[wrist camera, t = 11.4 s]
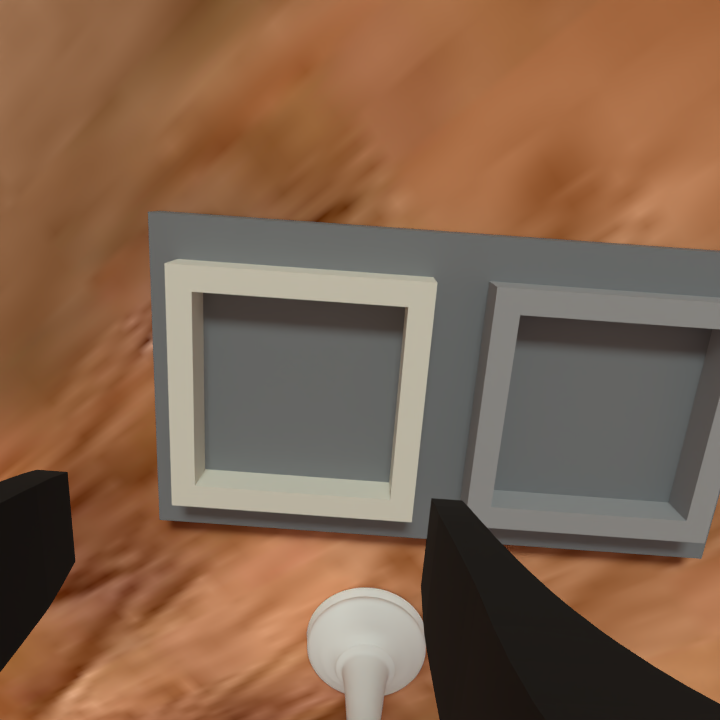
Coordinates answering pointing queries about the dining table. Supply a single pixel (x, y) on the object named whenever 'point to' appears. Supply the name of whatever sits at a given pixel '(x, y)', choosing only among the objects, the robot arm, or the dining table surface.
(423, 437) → the socket board
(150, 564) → the dining table surface
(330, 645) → the chess piece
